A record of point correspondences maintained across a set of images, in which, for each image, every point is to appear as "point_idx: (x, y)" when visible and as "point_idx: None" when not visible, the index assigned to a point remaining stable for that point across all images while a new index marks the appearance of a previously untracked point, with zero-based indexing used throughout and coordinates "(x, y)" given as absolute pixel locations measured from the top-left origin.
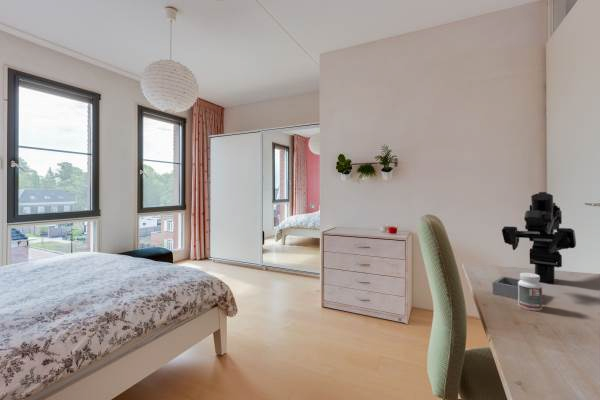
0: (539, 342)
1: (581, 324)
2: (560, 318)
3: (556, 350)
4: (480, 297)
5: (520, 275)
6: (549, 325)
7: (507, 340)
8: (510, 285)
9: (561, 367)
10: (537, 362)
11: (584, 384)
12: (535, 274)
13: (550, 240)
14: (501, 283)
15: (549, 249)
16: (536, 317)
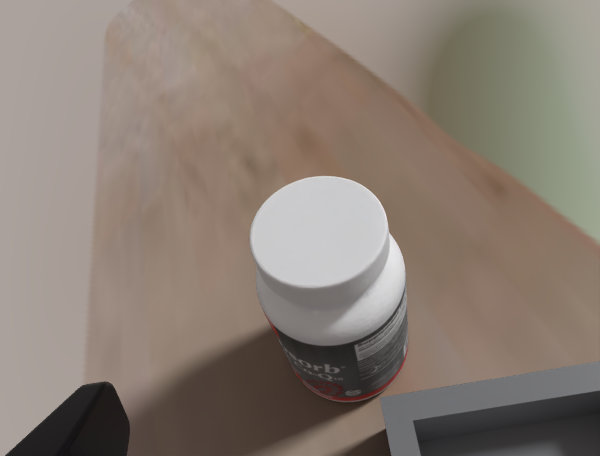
0: (212, 90)
1: (127, 327)
2: (202, 321)
3: (172, 89)
4: (591, 256)
5: (369, 195)
6: (219, 212)
7: (273, 41)
8: (523, 388)
9: (154, 43)
10: (194, 24)
11: (118, 31)
12: (290, 271)
13: None
14: (597, 380)
15: (84, 389)
16: None
